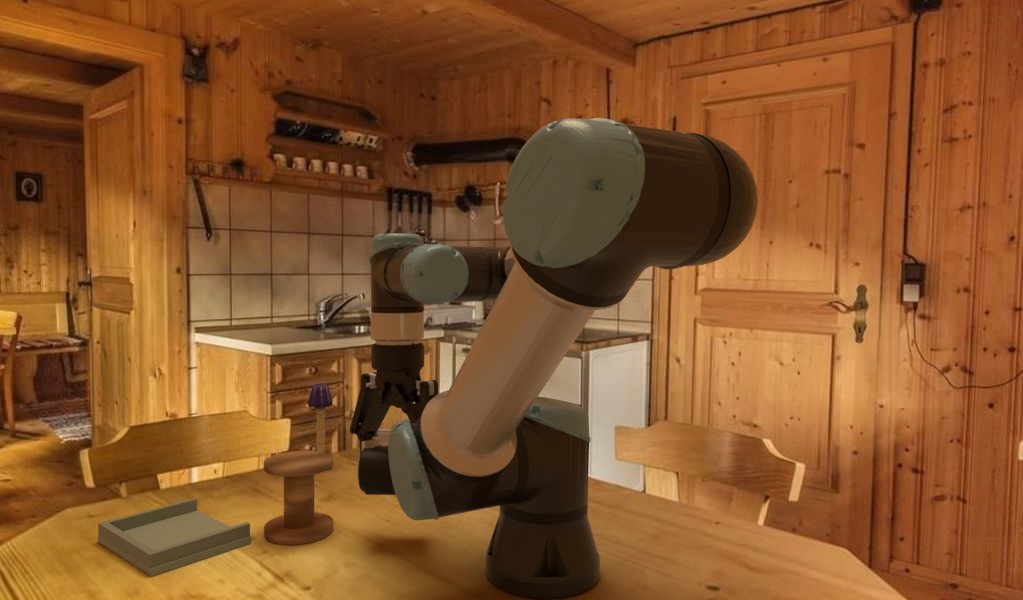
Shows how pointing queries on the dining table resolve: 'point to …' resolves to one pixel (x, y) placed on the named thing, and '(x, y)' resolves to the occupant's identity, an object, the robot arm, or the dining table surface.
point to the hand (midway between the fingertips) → (398, 491)
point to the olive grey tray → (170, 537)
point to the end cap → (375, 471)
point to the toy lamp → (320, 411)
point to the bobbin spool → (298, 498)
